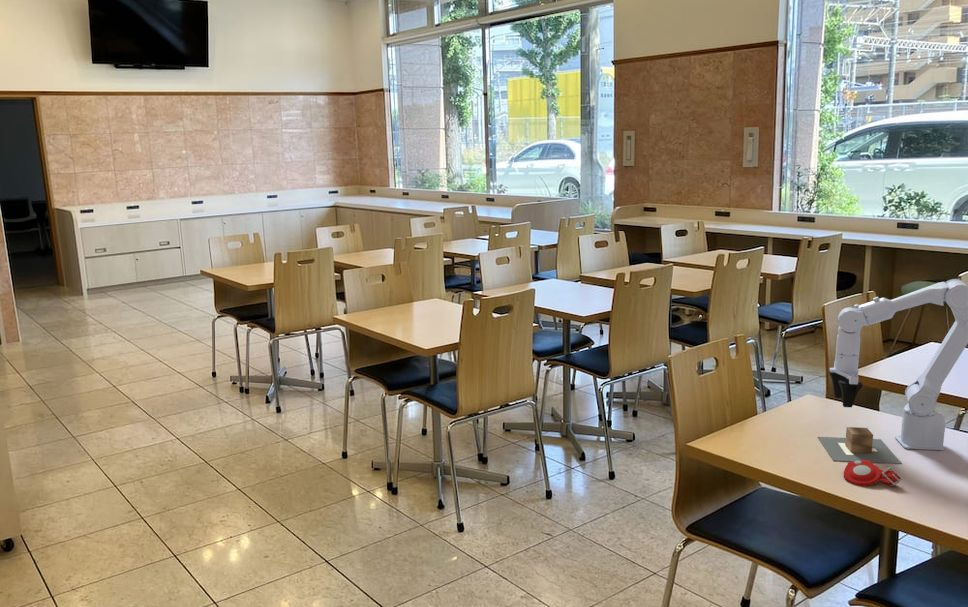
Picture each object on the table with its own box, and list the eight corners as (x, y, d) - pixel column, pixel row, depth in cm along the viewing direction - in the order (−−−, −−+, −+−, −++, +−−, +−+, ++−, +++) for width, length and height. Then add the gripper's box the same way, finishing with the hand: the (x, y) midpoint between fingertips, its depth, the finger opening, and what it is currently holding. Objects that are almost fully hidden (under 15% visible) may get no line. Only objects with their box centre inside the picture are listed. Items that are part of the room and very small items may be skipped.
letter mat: (880, 439, 213) (880, 439, 213) (901, 464, 198) (901, 463, 198) (817, 437, 216) (817, 436, 215) (833, 461, 200) (833, 460, 200)
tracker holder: (847, 482, 186) (837, 456, 195) (849, 498, 187) (840, 471, 196) (904, 476, 182) (891, 449, 191) (905, 491, 184) (893, 464, 193)
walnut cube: (865, 445, 209) (867, 427, 208) (871, 453, 204) (873, 434, 203) (845, 445, 209) (846, 427, 208) (850, 452, 204) (852, 434, 203)
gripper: (823, 345, 219) (820, 393, 222) (839, 360, 205) (835, 410, 208) (851, 346, 218) (846, 393, 221) (868, 361, 204) (864, 411, 207)
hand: (843, 402), depth 215 cm, fingers open, 7 cm apart
